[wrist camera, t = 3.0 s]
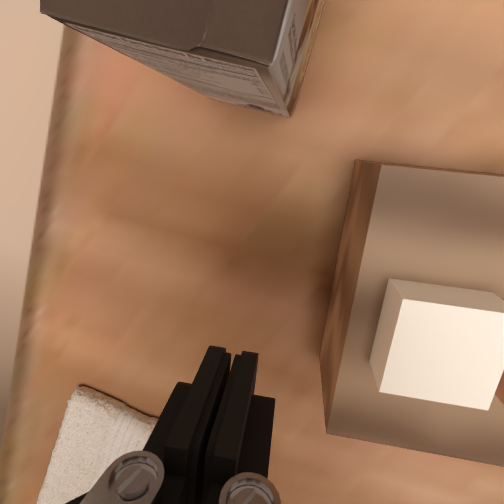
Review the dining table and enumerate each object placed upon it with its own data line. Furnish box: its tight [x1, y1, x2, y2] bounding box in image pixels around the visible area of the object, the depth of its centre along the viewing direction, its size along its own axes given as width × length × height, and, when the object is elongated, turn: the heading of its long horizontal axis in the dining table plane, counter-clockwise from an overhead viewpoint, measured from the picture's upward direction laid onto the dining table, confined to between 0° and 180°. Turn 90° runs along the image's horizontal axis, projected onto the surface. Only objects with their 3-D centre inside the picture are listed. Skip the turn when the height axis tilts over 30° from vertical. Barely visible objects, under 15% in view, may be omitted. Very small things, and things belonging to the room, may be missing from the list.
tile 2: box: [369, 278, 504, 410], centre depth 16 cm, size 5×5×2 cm
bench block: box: [319, 160, 504, 467], centre depth 21 cm, size 16×16×8 cm
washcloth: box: [36, 386, 158, 504], centre depth 34 cm, size 12×18×3 cm, turn 158°
